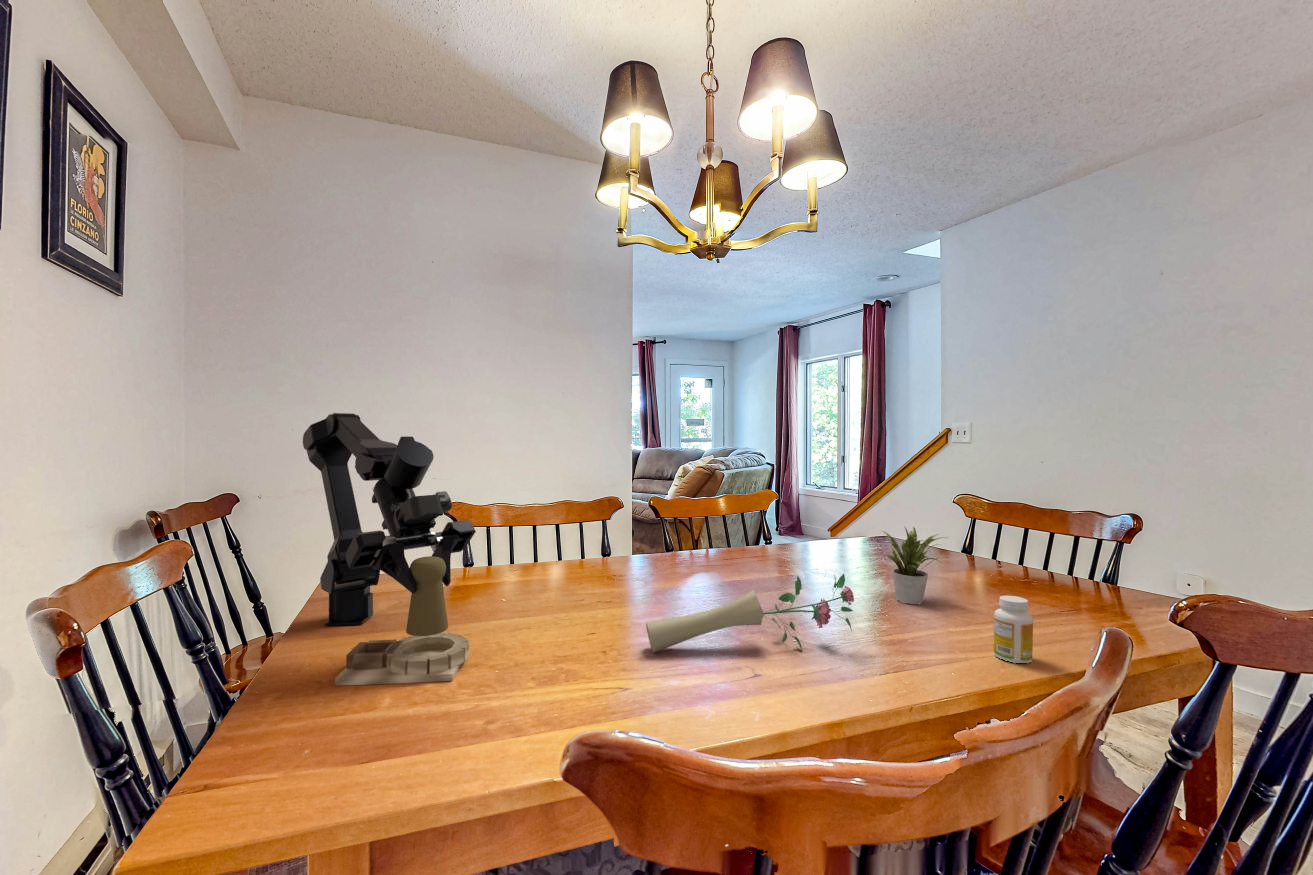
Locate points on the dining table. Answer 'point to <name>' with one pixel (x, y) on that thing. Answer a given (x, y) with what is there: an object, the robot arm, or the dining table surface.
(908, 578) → the house plant
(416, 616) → the olive tapered knobbed peg
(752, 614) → the flower vase
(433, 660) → the holder
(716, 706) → the dining table surface
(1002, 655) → the supplement bottle
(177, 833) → the dining table surface
